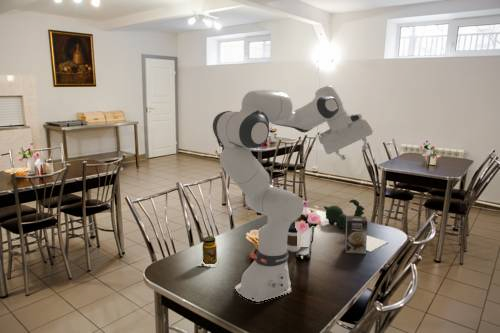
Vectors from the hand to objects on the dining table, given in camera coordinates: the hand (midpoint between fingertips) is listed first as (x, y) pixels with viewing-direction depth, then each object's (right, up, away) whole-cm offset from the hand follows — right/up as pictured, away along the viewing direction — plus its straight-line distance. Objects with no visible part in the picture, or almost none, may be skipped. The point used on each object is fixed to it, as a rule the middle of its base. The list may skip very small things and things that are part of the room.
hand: (354, 154), depth 150 cm
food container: (-13, -42, +37) cm, 57 cm away
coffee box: (+7, -45, +23) cm, 51 cm away
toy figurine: (+8, -39, +53) cm, 66 cm away
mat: (+15, -43, +32) cm, 56 cm away
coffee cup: (-22, -44, +26) cm, 56 cm away
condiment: (-61, -48, +12) cm, 78 cm away
